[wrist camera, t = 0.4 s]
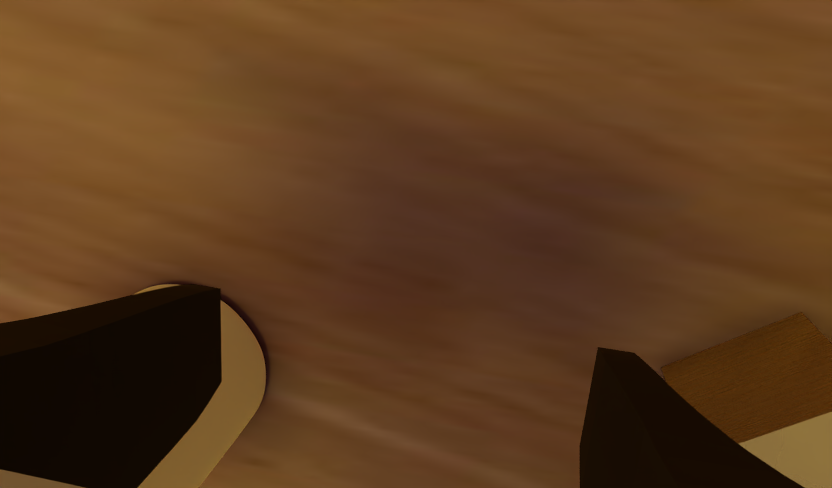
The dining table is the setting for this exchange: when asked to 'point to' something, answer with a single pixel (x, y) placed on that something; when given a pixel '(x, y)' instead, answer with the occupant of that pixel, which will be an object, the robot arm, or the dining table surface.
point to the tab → (768, 395)
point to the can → (217, 408)
